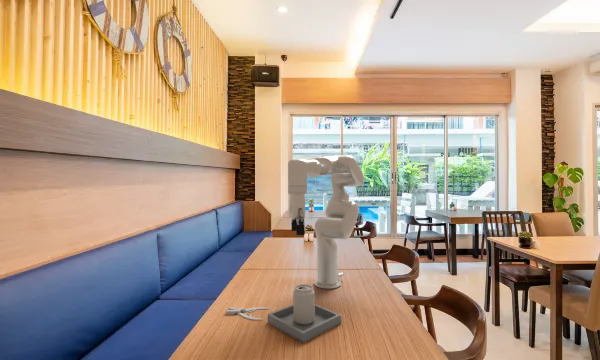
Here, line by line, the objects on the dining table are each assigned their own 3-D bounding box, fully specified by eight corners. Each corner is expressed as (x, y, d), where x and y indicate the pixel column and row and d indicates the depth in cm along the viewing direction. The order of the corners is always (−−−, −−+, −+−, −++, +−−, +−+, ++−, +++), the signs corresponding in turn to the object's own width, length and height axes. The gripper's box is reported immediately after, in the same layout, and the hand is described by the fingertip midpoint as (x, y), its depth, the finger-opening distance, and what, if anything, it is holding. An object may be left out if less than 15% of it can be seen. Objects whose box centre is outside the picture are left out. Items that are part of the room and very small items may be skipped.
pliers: (262, 317, 108) (222, 314, 110) (262, 321, 108) (222, 319, 110) (269, 305, 118) (231, 303, 120) (269, 309, 118) (231, 307, 120)
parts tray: (305, 307, 119) (305, 299, 118) (340, 323, 105) (340, 314, 105) (267, 322, 106) (267, 314, 106) (302, 343, 93) (302, 333, 93)
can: (304, 314, 111) (303, 281, 111) (319, 321, 106) (319, 286, 106) (289, 321, 106) (288, 286, 106) (304, 328, 101) (303, 292, 101)
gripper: (284, 189, 130) (285, 229, 130) (292, 191, 113) (292, 237, 113) (301, 189, 132) (302, 228, 132) (312, 191, 115) (312, 236, 115)
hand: (297, 232), depth 123 cm, fingers open, 9 cm apart
